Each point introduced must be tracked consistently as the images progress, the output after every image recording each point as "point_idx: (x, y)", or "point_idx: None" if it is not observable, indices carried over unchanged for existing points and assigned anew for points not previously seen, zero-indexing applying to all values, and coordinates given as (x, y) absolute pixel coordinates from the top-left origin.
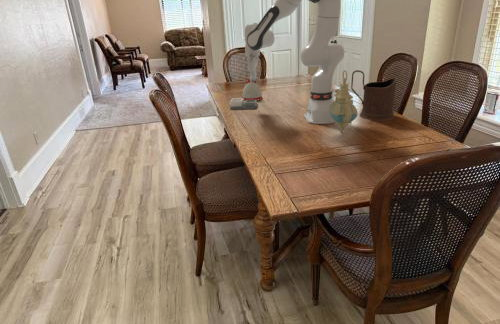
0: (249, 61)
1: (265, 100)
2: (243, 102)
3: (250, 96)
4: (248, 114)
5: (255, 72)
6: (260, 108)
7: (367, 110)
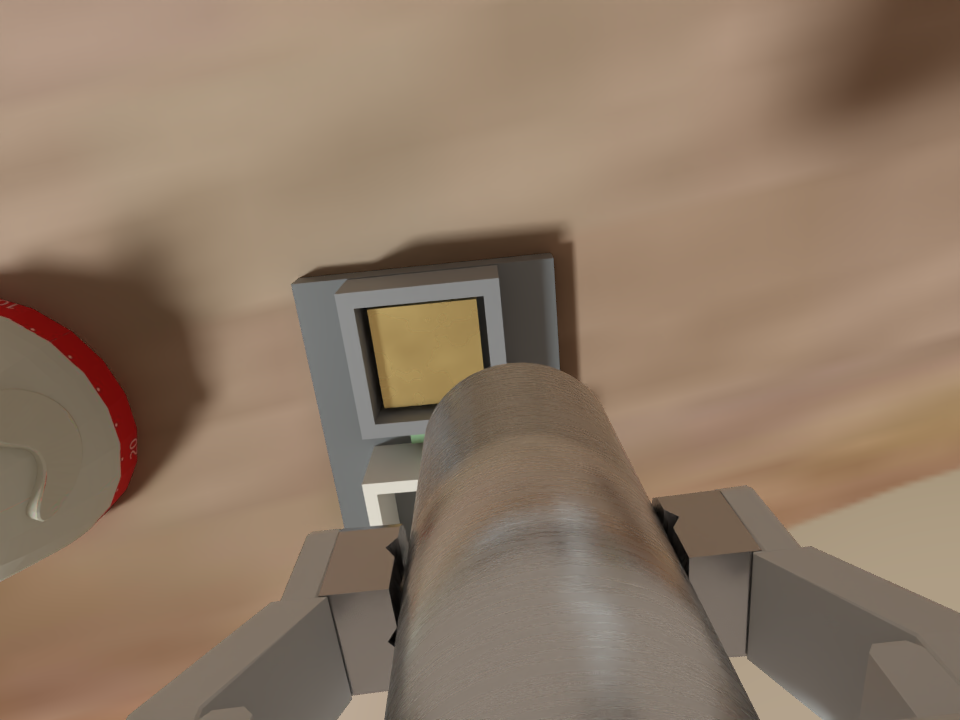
0: None
1: (61, 208)
2: (386, 453)
3: (95, 437)
4: (797, 276)
5: (643, 548)
6: (508, 183)
7: None
